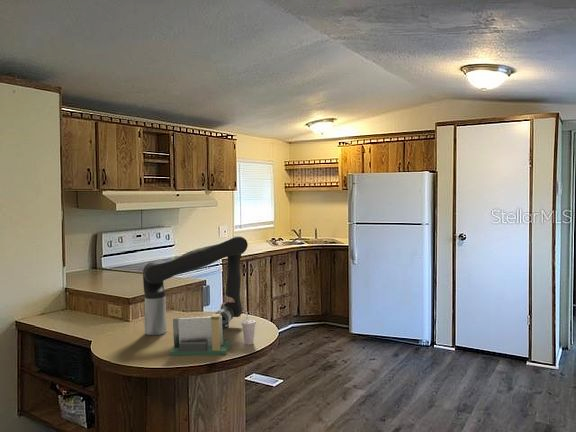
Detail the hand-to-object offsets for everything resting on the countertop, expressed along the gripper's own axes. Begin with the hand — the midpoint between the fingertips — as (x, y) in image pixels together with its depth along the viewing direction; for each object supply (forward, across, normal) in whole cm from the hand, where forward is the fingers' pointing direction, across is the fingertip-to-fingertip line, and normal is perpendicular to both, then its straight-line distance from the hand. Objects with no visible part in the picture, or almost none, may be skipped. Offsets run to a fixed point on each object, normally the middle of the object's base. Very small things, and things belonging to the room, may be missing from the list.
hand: (208, 330), depth 206 cm
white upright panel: (+2, -4, +6) cm, 7 cm away
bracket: (0, -3, +8) cm, 9 cm away
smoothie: (-9, +15, +8) cm, 19 cm away
